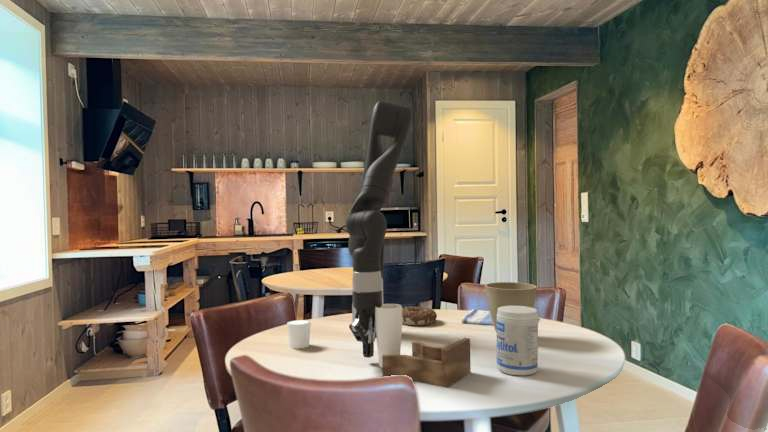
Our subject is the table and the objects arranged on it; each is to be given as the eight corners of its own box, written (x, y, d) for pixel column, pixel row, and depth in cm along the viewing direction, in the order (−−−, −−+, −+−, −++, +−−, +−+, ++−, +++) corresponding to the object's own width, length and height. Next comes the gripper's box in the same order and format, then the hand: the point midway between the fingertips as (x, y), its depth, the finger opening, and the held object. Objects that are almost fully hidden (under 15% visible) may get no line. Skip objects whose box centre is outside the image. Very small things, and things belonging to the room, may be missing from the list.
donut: (390, 324, 169) (389, 310, 169) (409, 317, 181) (408, 303, 181) (427, 329, 162) (427, 313, 162) (444, 321, 173) (444, 306, 173)
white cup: (315, 343, 145) (315, 320, 145) (304, 350, 138) (303, 325, 138) (294, 342, 147) (294, 318, 147) (282, 348, 141) (282, 323, 141)
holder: (380, 377, 114) (380, 342, 114) (414, 359, 127) (413, 329, 127) (444, 390, 105) (443, 352, 105) (473, 370, 118) (473, 336, 118)
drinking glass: (400, 371, 118) (399, 308, 118) (373, 370, 119) (372, 308, 119) (405, 362, 125) (404, 303, 125) (378, 361, 126) (377, 303, 126)
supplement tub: (489, 371, 117) (488, 309, 117) (507, 361, 124) (506, 303, 124) (528, 379, 111) (527, 314, 111) (545, 369, 118) (544, 307, 118)
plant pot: (506, 347, 137) (505, 290, 137) (476, 336, 151) (475, 284, 151) (548, 341, 143) (547, 286, 143) (515, 330, 157) (514, 280, 157)
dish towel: (471, 315, 185) (471, 307, 185) (537, 319, 175) (536, 311, 175) (459, 325, 169) (459, 316, 169) (530, 330, 159) (530, 321, 159)
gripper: (370, 284, 133) (371, 348, 133) (339, 291, 122) (340, 361, 122) (393, 286, 129) (394, 352, 129) (363, 293, 118) (365, 365, 118)
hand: (368, 356), depth 125 cm, fingers closed
